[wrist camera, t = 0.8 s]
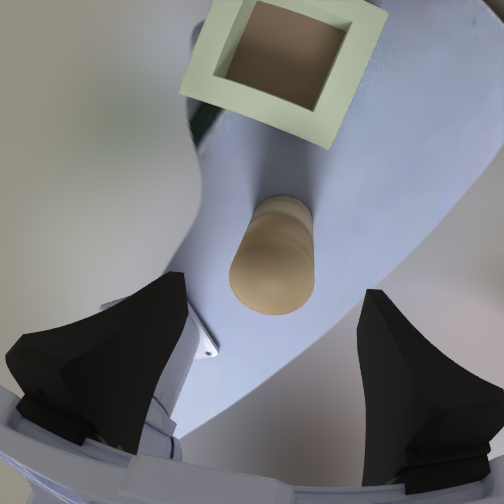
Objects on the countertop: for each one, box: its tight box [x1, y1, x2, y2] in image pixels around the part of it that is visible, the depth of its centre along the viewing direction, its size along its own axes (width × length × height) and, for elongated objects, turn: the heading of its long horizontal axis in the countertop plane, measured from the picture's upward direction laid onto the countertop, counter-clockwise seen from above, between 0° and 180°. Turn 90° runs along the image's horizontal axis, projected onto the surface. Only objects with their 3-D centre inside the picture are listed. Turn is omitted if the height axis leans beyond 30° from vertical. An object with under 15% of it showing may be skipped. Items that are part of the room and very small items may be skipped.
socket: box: [178, 0, 389, 150], centre depth 14 cm, size 8×8×3 cm
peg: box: [229, 195, 314, 315], centre depth 18 cm, size 4×4×7 cm
